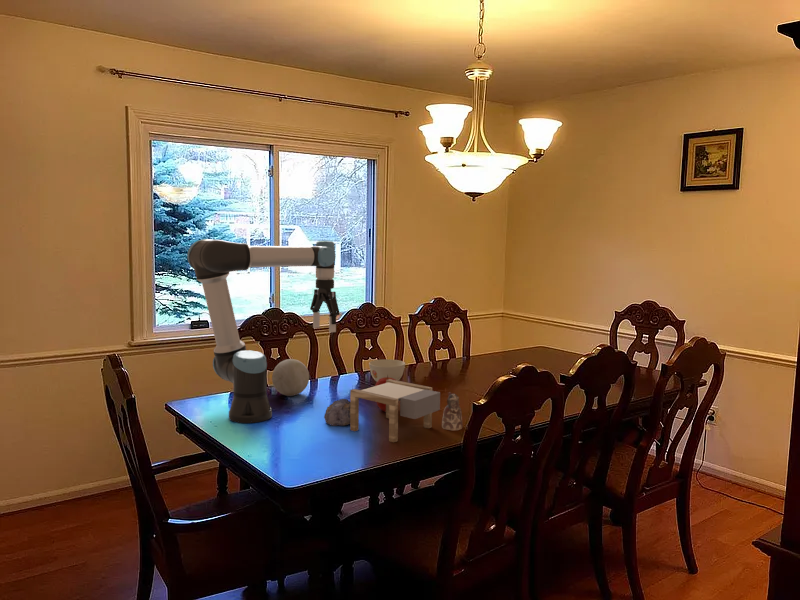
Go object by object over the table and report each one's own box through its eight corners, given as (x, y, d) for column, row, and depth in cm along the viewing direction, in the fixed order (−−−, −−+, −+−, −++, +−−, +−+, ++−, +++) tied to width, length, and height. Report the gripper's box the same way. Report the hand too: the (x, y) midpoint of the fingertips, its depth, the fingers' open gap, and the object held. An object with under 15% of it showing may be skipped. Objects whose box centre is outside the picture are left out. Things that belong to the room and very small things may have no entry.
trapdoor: (412, 420, 197) (412, 401, 196) (358, 406, 211) (358, 389, 211) (441, 409, 210) (442, 391, 209) (388, 397, 224) (389, 380, 224)
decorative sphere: (298, 401, 246) (298, 364, 244) (265, 397, 251) (264, 361, 249) (315, 392, 260) (315, 357, 259) (283, 389, 265) (283, 354, 263)
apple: (406, 410, 236) (406, 374, 234) (387, 416, 228) (387, 379, 227) (387, 405, 243) (387, 370, 241) (368, 410, 235) (368, 374, 234)
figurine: (445, 431, 212) (446, 396, 211) (438, 425, 219) (439, 391, 217) (465, 429, 214) (466, 395, 213) (457, 423, 221) (458, 390, 219)
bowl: (410, 388, 270) (410, 365, 269) (375, 391, 264) (375, 368, 263) (397, 379, 285) (397, 358, 284) (363, 382, 279) (364, 360, 278)
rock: (359, 411, 225) (350, 391, 220) (355, 432, 216) (346, 411, 211) (331, 415, 227) (322, 395, 222) (326, 436, 219) (316, 415, 214)
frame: (393, 442, 200) (394, 399, 198) (350, 430, 211) (350, 390, 210) (431, 427, 216) (432, 387, 215) (389, 416, 228) (389, 379, 226)
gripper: (348, 280, 247) (347, 333, 249) (318, 276, 267) (317, 325, 269) (332, 281, 243) (331, 334, 245) (302, 276, 263) (302, 326, 265)
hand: (324, 330), depth 257 cm, fingers open, 13 cm apart
